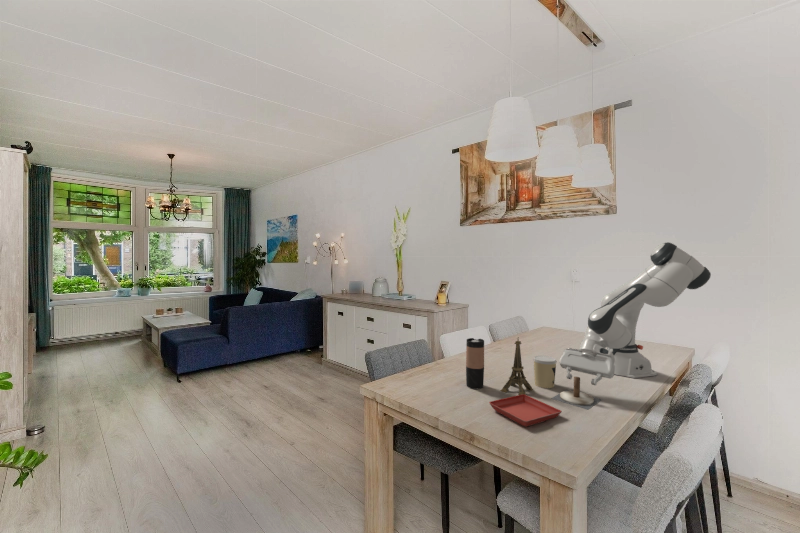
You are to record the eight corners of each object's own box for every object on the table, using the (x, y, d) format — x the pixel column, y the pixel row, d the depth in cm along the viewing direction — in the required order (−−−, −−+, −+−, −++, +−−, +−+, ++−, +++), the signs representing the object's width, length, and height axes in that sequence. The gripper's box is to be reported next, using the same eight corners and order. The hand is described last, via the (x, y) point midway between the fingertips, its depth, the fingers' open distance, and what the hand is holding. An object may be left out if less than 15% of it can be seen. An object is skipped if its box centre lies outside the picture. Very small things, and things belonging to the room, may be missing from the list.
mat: (566, 390, 158) (566, 389, 158) (602, 400, 148) (602, 399, 148) (550, 399, 149) (550, 398, 149) (588, 410, 139) (588, 409, 139)
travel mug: (473, 390, 158) (473, 343, 157) (462, 384, 165) (462, 339, 164) (487, 387, 162) (488, 341, 161) (476, 381, 169) (476, 337, 168)
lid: (581, 392, 155) (582, 372, 155) (600, 404, 143) (601, 382, 143) (554, 393, 154) (554, 373, 153) (571, 405, 142) (571, 383, 141)
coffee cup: (558, 390, 158) (558, 362, 158) (534, 388, 160) (535, 360, 160) (553, 382, 167) (554, 356, 167) (531, 381, 169) (532, 354, 169)
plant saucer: (523, 401, 148) (523, 393, 148) (562, 419, 132) (563, 410, 132) (487, 410, 139) (487, 401, 139) (525, 431, 123) (525, 421, 123)
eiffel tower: (524, 397, 151) (525, 335, 150) (499, 391, 158) (500, 331, 157) (534, 390, 159) (535, 331, 158) (510, 384, 166) (511, 327, 165)
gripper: (563, 343, 161) (552, 370, 155) (616, 352, 146) (606, 383, 140) (567, 351, 165) (557, 378, 158) (619, 361, 150) (610, 392, 143)
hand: (580, 381), depth 149 cm, fingers open, 8 cm apart
